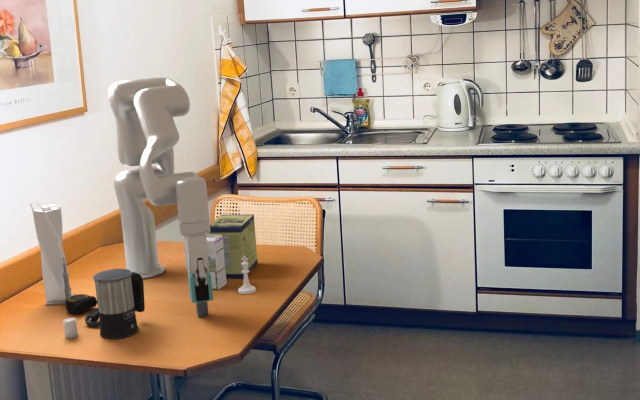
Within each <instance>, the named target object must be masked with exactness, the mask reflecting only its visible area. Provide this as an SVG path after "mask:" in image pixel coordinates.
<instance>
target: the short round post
mask: <svg viewBox="0 0 640 400" xmlns="http://www.w3.org/2000/svg"><path fill="white" fill-rule="evenodd" d="M62 324H63V331H64V337H65V339H74V338H76V337H78V336H79V333H78V332H79V331H78V326H77V318H75V317H68V318H65V319H63V321H62Z"/></svg>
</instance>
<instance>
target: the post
mask: <svg viewBox="0 0 640 400" xmlns="http://www.w3.org/2000/svg"><path fill="white" fill-rule="evenodd" d="M195 308H196V316H197V318H205V317H210V316H209V304H208V301H206V302H199V303H195Z"/></svg>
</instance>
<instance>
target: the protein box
mask: <svg viewBox="0 0 640 400" xmlns="http://www.w3.org/2000/svg"><path fill="white" fill-rule="evenodd" d="M255 223H256V222H255V214H221V215H219V216H218V217H217V218H216V219H215V220H214V221H212V222H211V223H210V233H208V234H206V235H222V236H223V247H224V260H225V271H226V280H227V279H230V280H232V279H237V280H238V279H240V280H241V279H243V280H244V273H242V270H244V269H243V267H242V265H241V263H242V262H244V260H241V258H243V256H245V258H248V260H246V262H248V263H249V264H248V268H247V270H249V272H248V273H247V274H248V275H249V273H251V272H252V270H253V269H254V268H255V267H256V266H257V265H258V250H257V238H256V237H257V236H256V226H255Z"/></svg>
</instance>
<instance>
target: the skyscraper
mask: <svg viewBox="0 0 640 400" xmlns="http://www.w3.org/2000/svg"><path fill="white" fill-rule="evenodd" d="M29 204H30V208H31V210H32V216H33V217H32V218H33V224H34V228H35V233H36V238H37V242H38V245H39V247H40V248H39V249H40V262H41V265H40V266H41V272H42V273H41V275H42V281H43V288H44V294H45V299H46V302H45V306H55V305H66V304H65V301H66V299H67V298H69V297H70V296H73V295H77V294H76V292H75V293H73V292H72V287H71V285H70V277H69V275H70V273H69V271H68V266H67V260H66V255H65V251H64V249H63V218H62V217H63V216H62V207H61V206H60V205H58V204H54V203H50V204H48V205H46V204H45V205H41V204H40V203H39V202H34V201H31V202H30V203H29ZM33 205H36V206H39V208H38V209H34V207H33Z"/></svg>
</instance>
